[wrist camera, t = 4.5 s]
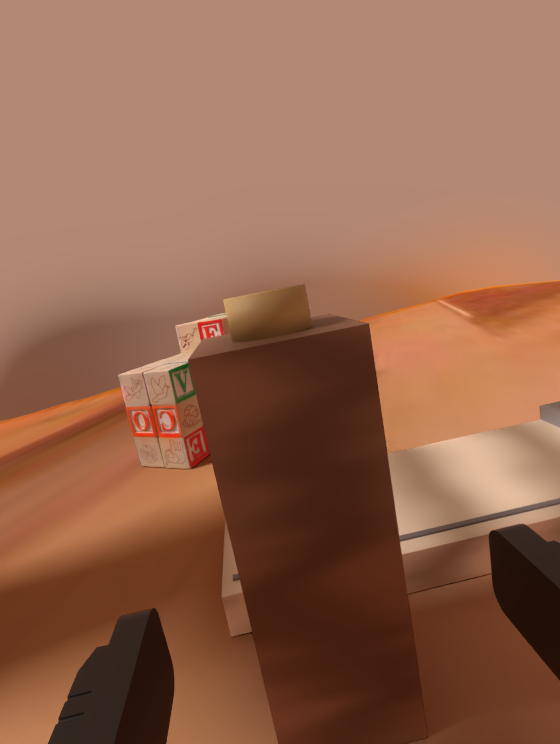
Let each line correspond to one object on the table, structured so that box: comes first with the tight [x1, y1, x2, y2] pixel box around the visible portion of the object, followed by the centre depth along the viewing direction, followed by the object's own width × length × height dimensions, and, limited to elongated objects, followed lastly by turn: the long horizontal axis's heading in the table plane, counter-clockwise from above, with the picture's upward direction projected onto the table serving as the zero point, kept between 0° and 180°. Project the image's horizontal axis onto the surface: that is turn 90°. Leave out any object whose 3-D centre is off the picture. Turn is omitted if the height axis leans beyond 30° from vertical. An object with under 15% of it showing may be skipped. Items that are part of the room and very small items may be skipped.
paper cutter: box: [221, 402, 560, 637], centre depth 20 cm, size 25×17×3 cm
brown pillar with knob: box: [188, 284, 428, 744], centre depth 14 cm, size 4×4×14 cm
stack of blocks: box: [118, 313, 230, 469], centre depth 46 cm, size 21×6×12 cm, turn 154°
